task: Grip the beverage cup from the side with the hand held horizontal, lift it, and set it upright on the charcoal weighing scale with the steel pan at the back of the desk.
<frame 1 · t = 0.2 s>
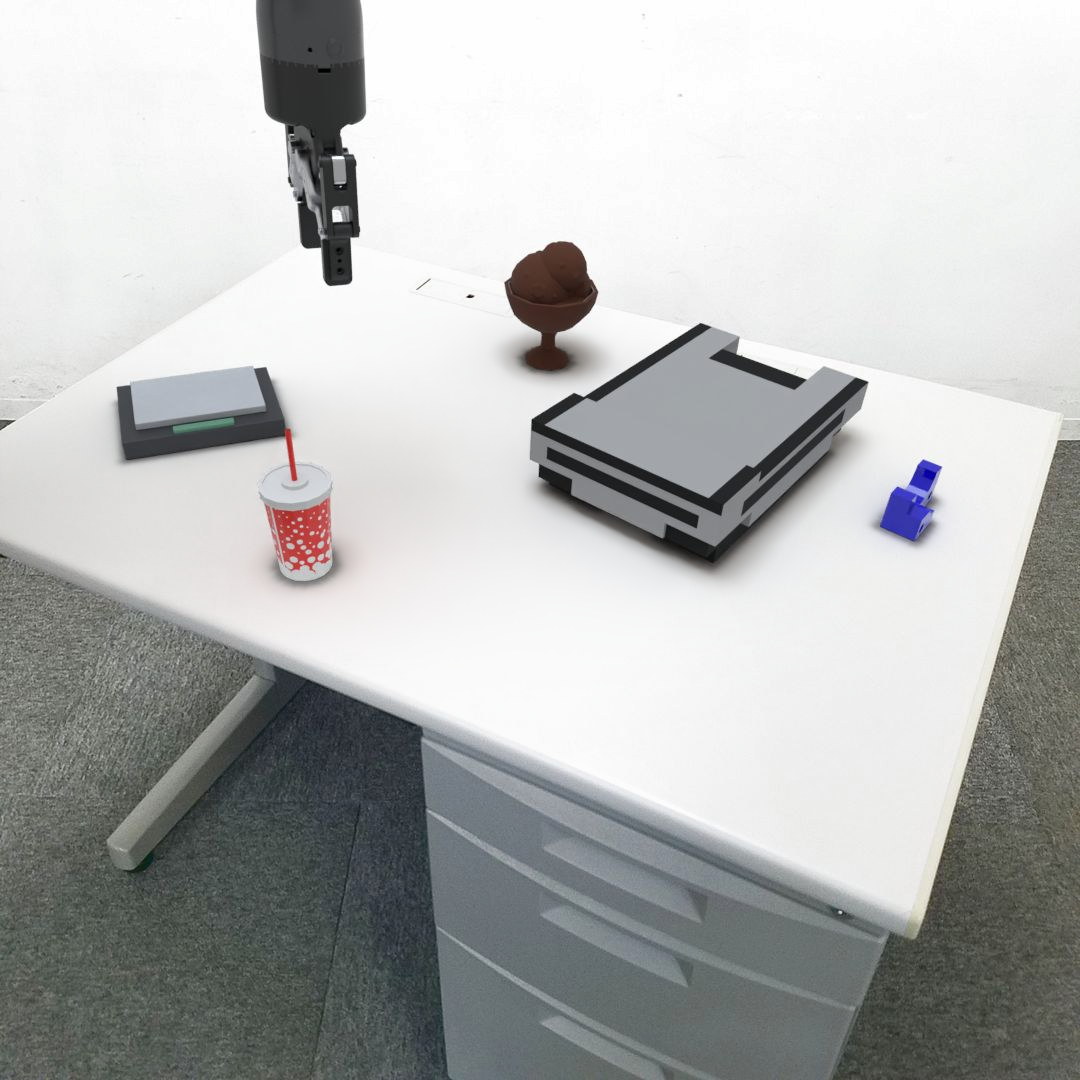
hand: (325, 264, 80), 23 cm above the table, tool pointing down, fingers open, 8 cm apart
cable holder: (912, 517, 96), on the table
scale: (202, 418, 104), on the table
game console: (698, 463, 102), on the table
beverage cup: (306, 566, 86), on the table
ice cream bowl: (547, 361, 118), on the table
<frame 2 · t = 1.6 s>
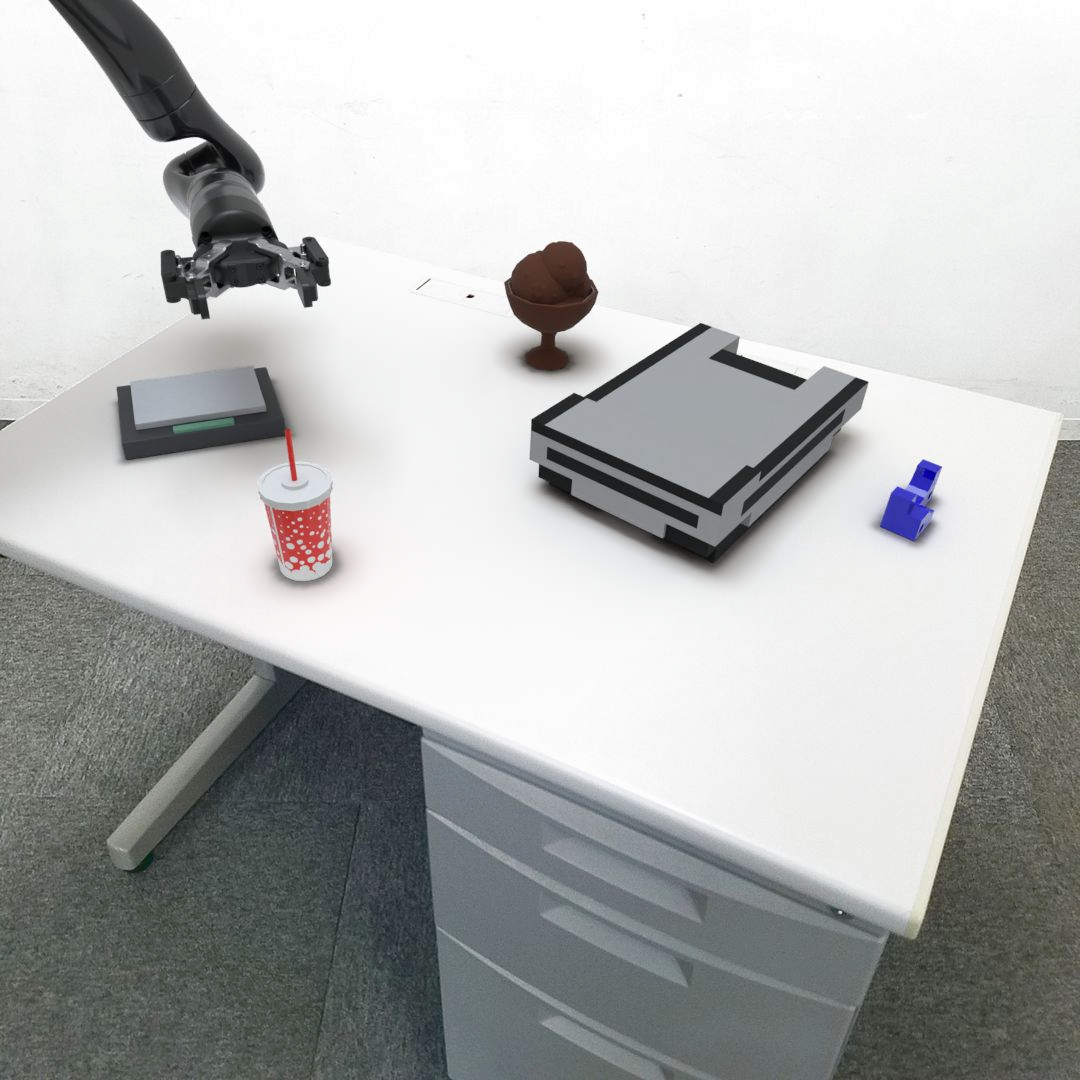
hand: (256, 302, 81), 20 cm above the table, tool horizontal, fingers open, 8 cm apart
nothing on the table moved.
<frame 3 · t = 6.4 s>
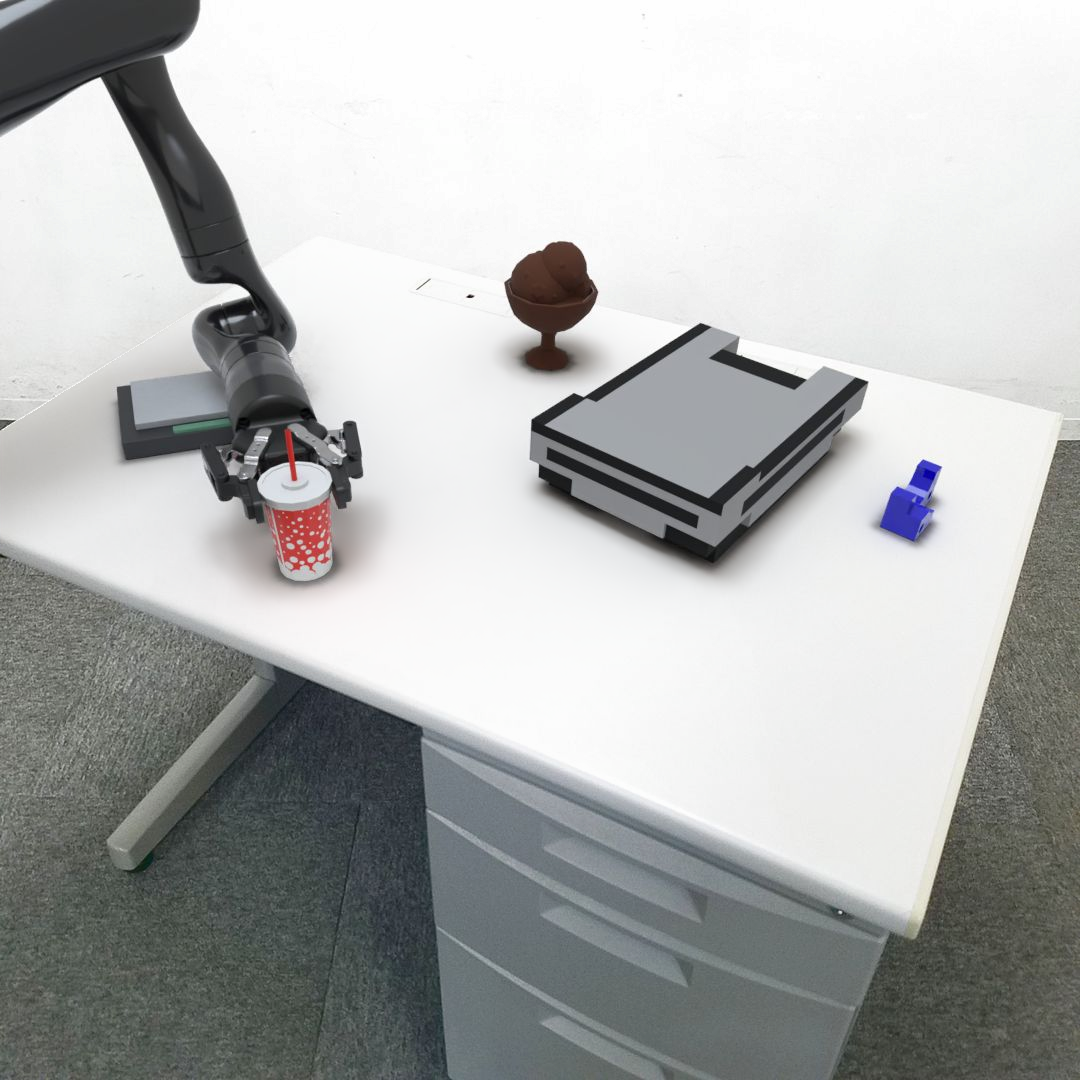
hand: (301, 507, 79), 8 cm above the table, tool horizontal, fingers closed on beverage cup, 6 cm apart
beverage cup: (306, 566, 86), on the table, touching gripper
everything else where it was.
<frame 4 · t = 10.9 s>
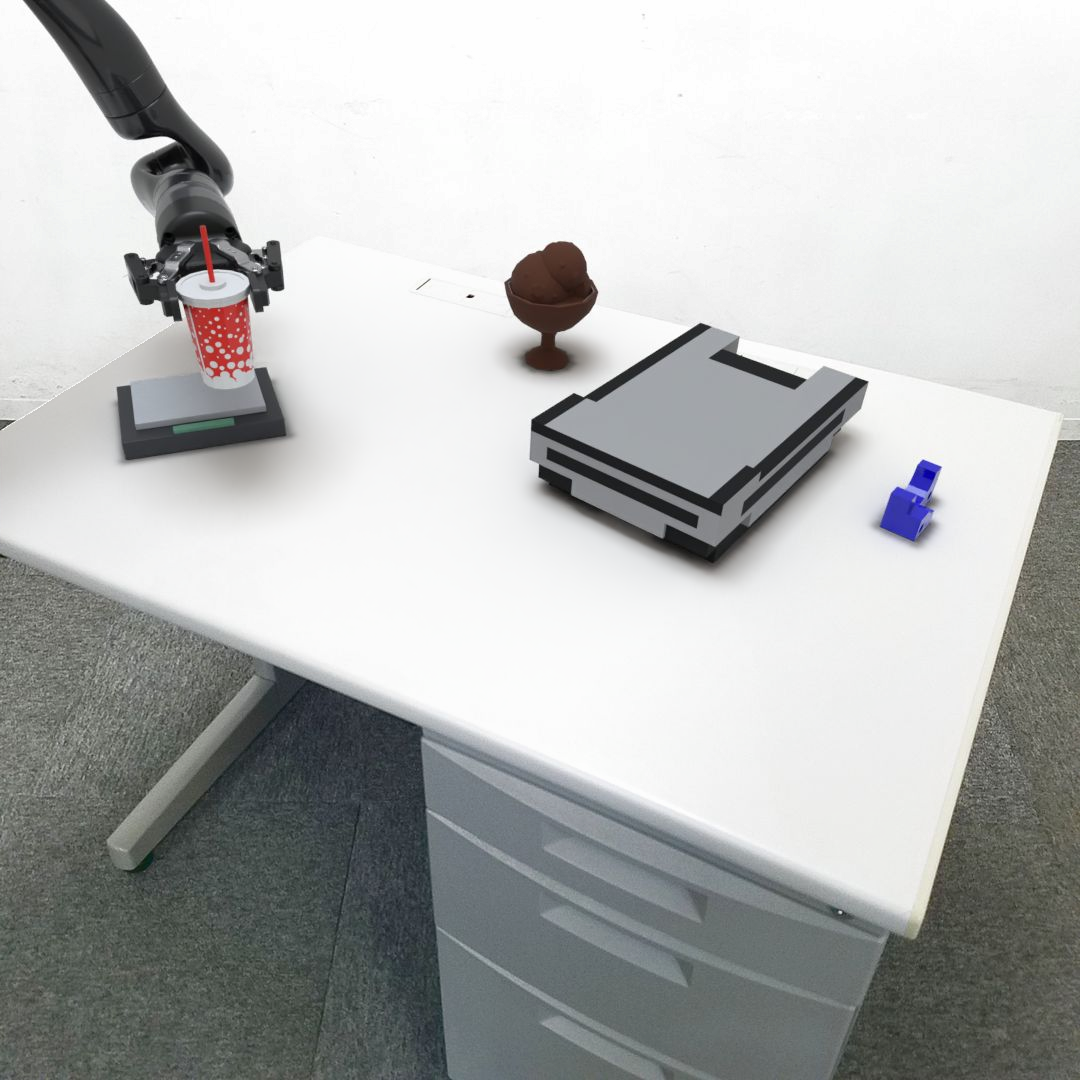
hand: (218, 306, 81), 20 cm above the table, tool horizontal, fingers closed on beverage cup, 6 cm apart
beverage cup: (229, 378, 88), point 12 cm above the table, touching gripper
everything else where it was.
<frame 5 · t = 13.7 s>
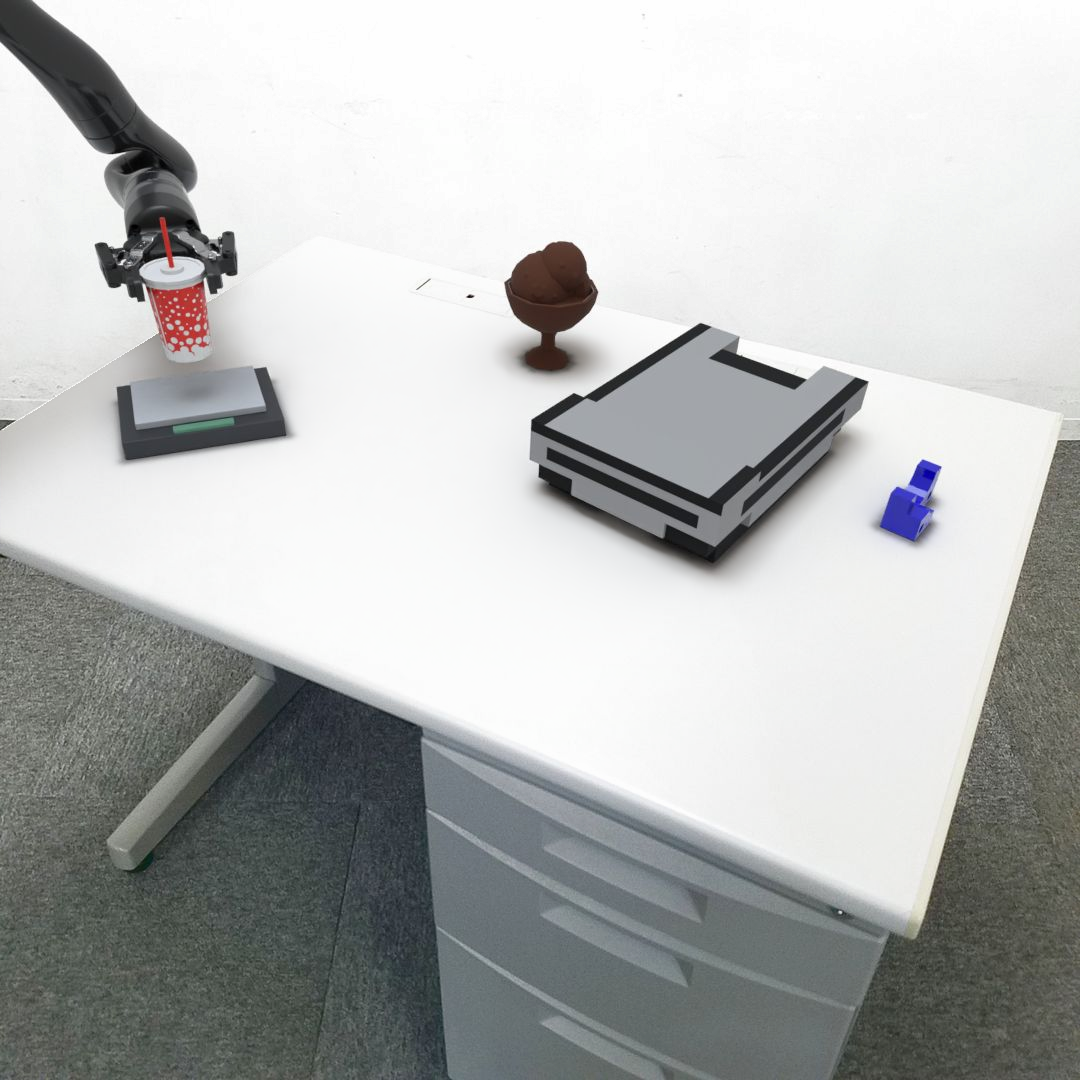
hand: (176, 288, 92), 16 cm above the table, tool horizontal, fingers closed on beverage cup, 6 cm apart
beverage cup: (189, 353, 99), point 8 cm above the table, touching gripper
everything else where it was.
when the fingers open (11 cm above the table, at t = 15.7 s): beverage cup stays where it is, resting on scale.
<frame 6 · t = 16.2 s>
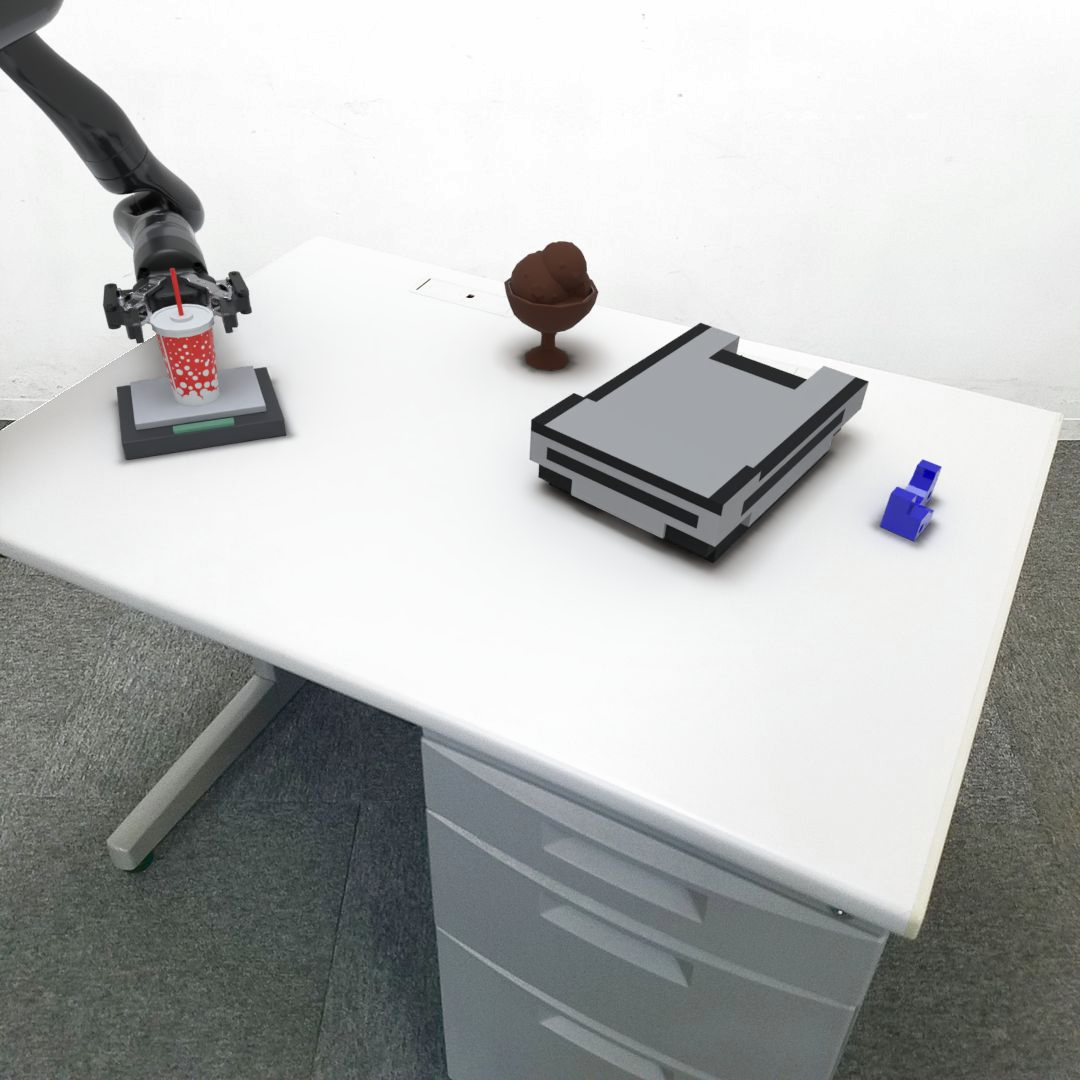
hand: (184, 329, 95), 11 cm above the table, tool horizontal, fingers open, 8 cm apart
beverage cup: (197, 396, 102), point 3 cm above the table, touching scale
everything else where it was.
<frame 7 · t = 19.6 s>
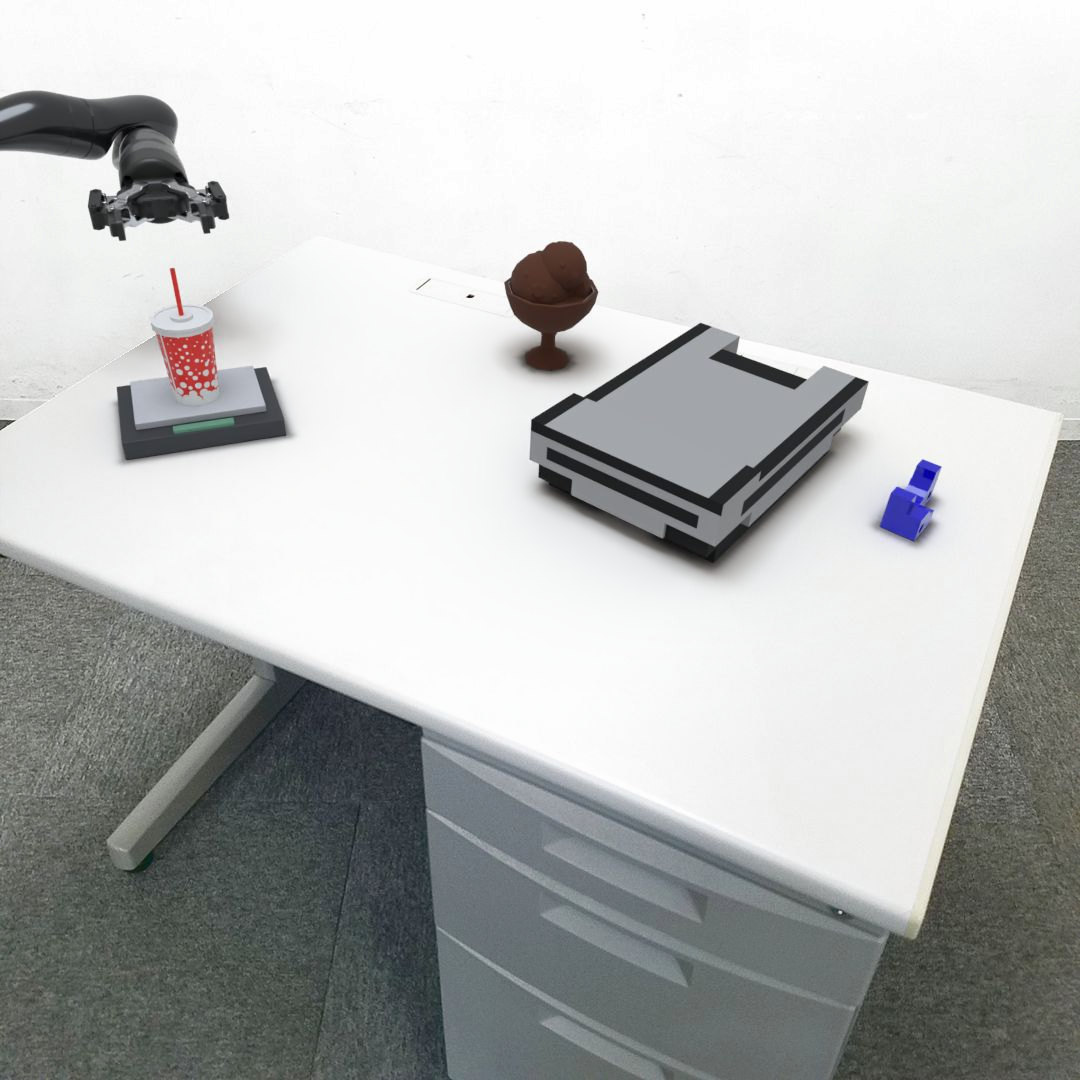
hand: (164, 228, 101), 17 cm above the table, tool horizontal, fingers open, 8 cm apart
nothing on the table moved.
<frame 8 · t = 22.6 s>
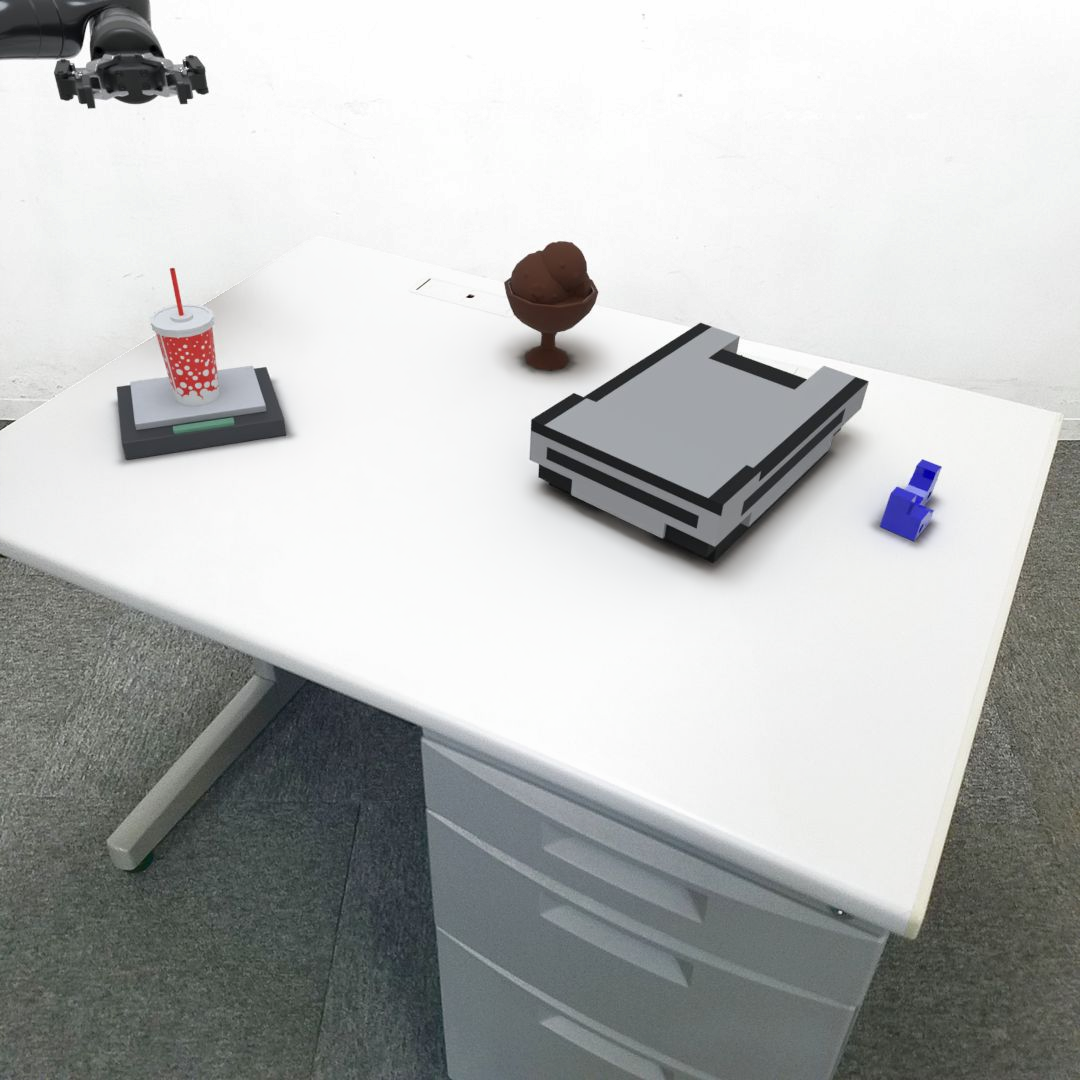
hand: (136, 95, 93), 30 cm above the table, tool horizontal, fingers open, 8 cm apart
nothing on the table moved.
at the end: beverage cup inside the target area on the scale (0.4 cm from its centre), point 2.6 cm above the scale's base; beverage cup tilted 0°; the gripper is holding nothing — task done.
